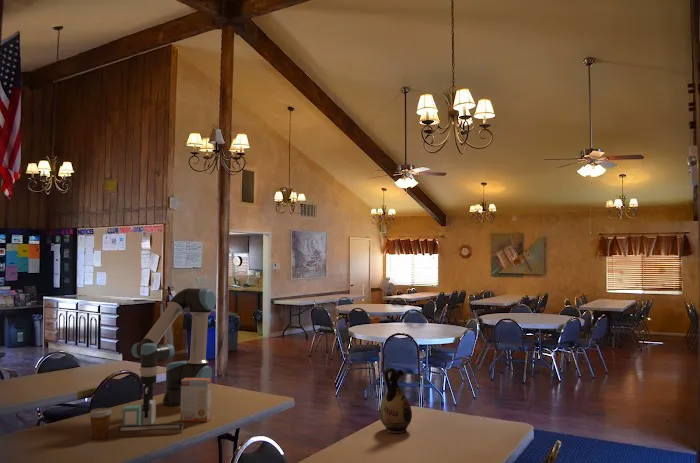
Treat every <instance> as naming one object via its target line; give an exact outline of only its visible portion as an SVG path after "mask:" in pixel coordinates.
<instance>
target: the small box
mask: <svg viewBox="0 0 700 463" xmlns="http://www.w3.org/2000/svg"><path fill="white" fill-rule="evenodd" d="M156 402H157V400H156V399H153V400H150V404H149V410H150V415H149V424H155V421H156V408H157V406H156V405H157V404H156ZM139 405H141V425H146V424H143V412H144V411H142V410H143V401H142V402H141V403H140V404H139Z"/></svg>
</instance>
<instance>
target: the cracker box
mask: <svg viewBox="0 0 700 463" xmlns="http://www.w3.org/2000/svg"><path fill="white" fill-rule="evenodd" d="M211 418H212V377H211V378H184V379H182V380H181V406H180V418H179V420H180V422H187V423H188V422H190V423H191V422H197V423H207V422H209V421H210V420H211Z"/></svg>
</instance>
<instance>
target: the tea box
mask: <svg viewBox="0 0 700 463" xmlns="http://www.w3.org/2000/svg"><path fill="white" fill-rule="evenodd" d="M132 425H141V405H140V404H129V405H128V404H125V405H124V406H123V409H122V426H132Z"/></svg>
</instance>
